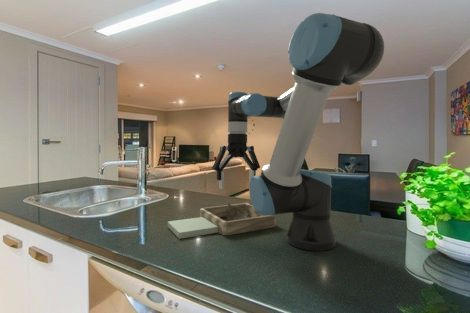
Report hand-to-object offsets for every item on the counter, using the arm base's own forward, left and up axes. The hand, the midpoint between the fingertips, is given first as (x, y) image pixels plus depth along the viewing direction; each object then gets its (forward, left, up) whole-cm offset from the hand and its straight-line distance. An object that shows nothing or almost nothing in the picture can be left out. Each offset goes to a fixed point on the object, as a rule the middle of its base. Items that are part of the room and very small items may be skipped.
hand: (236, 187), depth 108 cm
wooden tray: (0, 0, -14) cm, 14 cm away
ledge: (0, +19, -14) cm, 23 cm away
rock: (-2, 0, -14) cm, 14 cm away
